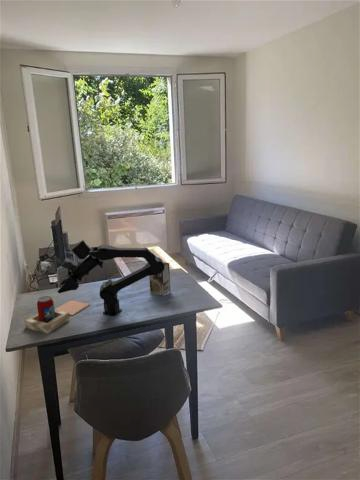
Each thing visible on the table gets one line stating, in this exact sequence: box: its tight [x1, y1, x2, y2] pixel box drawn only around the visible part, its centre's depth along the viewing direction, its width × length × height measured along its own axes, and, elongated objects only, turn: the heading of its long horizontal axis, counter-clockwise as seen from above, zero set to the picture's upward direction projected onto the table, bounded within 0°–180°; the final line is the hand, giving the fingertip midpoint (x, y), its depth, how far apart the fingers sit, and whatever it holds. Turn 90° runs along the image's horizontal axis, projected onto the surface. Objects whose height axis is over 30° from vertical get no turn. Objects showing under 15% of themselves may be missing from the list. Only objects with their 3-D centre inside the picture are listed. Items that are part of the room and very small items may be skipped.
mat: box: [54, 300, 91, 317], centre depth 172 cm, size 12×12×1 cm
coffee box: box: [148, 261, 171, 296], centre depth 184 cm, size 9×6×16 cm
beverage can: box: [36, 295, 56, 323], centre depth 156 cm, size 7×7×12 cm
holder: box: [24, 310, 71, 335], centre depth 158 cm, size 13×13×4 cm
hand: (59, 288), depth 159 cm, fingers open, 9 cm apart
